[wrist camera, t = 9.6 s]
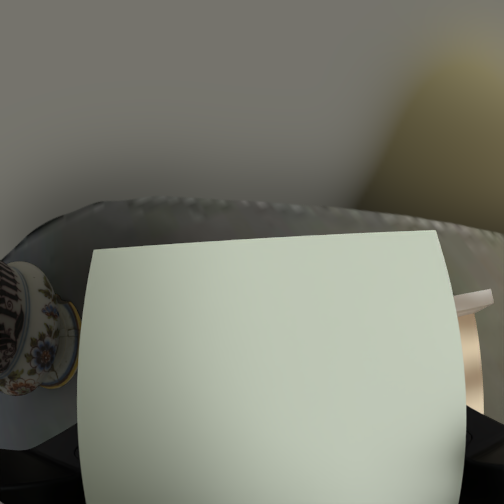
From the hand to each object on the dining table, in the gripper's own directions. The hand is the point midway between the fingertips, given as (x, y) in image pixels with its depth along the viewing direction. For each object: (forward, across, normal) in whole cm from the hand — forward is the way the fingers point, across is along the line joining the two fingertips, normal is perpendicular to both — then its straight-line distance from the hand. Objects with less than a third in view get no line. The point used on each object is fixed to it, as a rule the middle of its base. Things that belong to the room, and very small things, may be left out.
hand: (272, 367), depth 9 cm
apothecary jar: (+11, +22, +8) cm, 26 cm away
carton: (+3, 0, +5) cm, 6 cm away
